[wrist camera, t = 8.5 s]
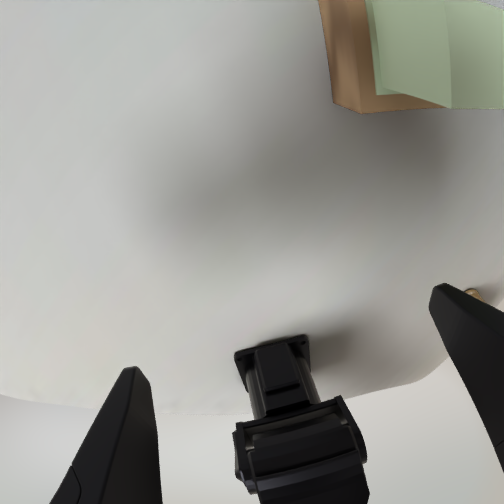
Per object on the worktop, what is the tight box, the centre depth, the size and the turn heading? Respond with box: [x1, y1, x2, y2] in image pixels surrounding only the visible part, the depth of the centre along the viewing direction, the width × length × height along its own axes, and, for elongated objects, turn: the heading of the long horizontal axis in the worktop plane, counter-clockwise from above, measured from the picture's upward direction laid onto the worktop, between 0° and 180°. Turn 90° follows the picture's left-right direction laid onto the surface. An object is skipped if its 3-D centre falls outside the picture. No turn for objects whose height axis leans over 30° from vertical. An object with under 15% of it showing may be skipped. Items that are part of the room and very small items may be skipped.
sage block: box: [372, 0, 504, 109], centre depth 10 cm, size 4×4×5 cm
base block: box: [318, 0, 447, 114], centre depth 13 cm, size 7×7×4 cm
